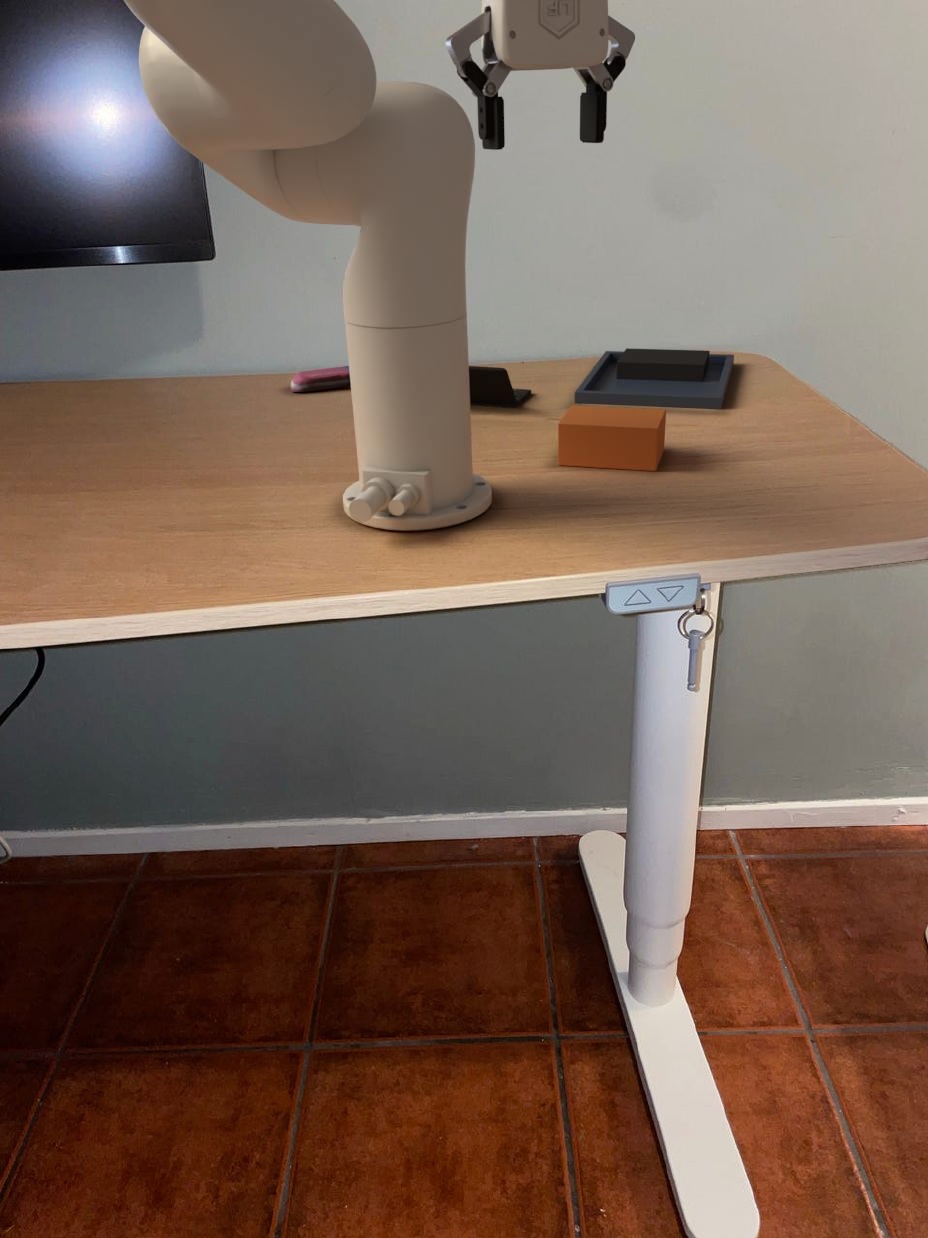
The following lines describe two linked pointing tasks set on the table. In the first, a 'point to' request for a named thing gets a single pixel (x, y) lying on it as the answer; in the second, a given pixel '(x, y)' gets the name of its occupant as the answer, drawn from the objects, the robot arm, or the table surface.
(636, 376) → the rubber pad
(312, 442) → the table surface
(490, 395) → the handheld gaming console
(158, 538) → the table surface
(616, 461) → the orange block
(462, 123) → the robot arm
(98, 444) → the table surface
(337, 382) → the eraser
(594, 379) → the pad tray
